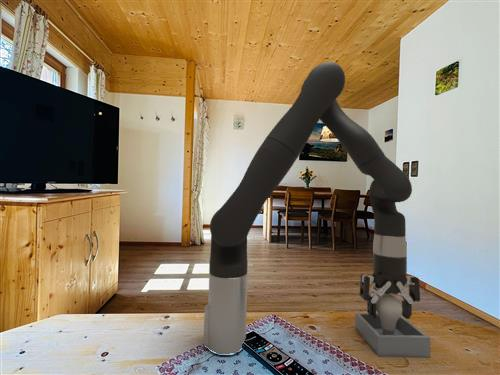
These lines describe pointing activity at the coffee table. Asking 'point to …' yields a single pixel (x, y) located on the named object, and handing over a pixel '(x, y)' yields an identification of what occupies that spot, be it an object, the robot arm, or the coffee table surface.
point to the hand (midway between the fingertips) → (389, 317)
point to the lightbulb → (388, 312)
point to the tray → (393, 337)
